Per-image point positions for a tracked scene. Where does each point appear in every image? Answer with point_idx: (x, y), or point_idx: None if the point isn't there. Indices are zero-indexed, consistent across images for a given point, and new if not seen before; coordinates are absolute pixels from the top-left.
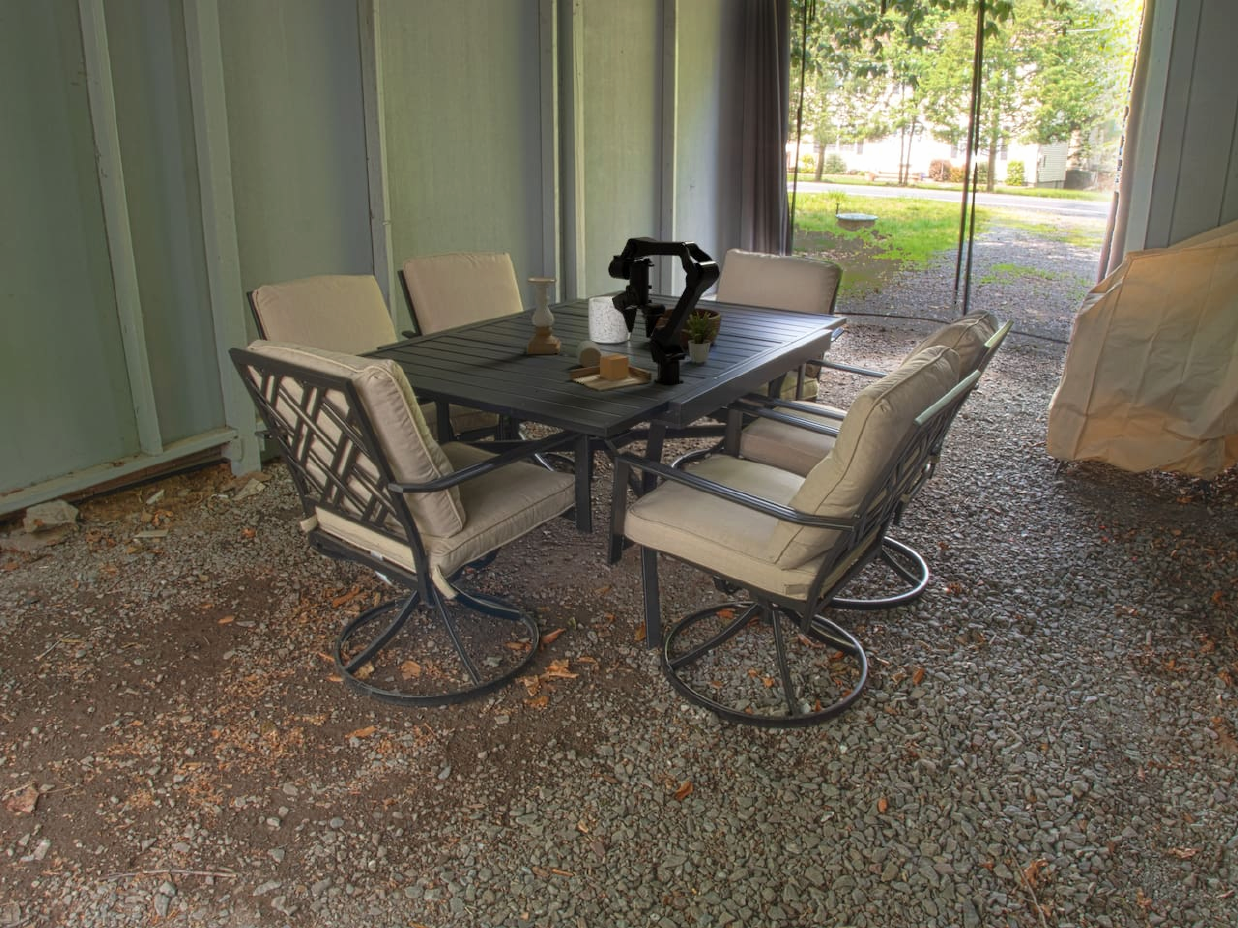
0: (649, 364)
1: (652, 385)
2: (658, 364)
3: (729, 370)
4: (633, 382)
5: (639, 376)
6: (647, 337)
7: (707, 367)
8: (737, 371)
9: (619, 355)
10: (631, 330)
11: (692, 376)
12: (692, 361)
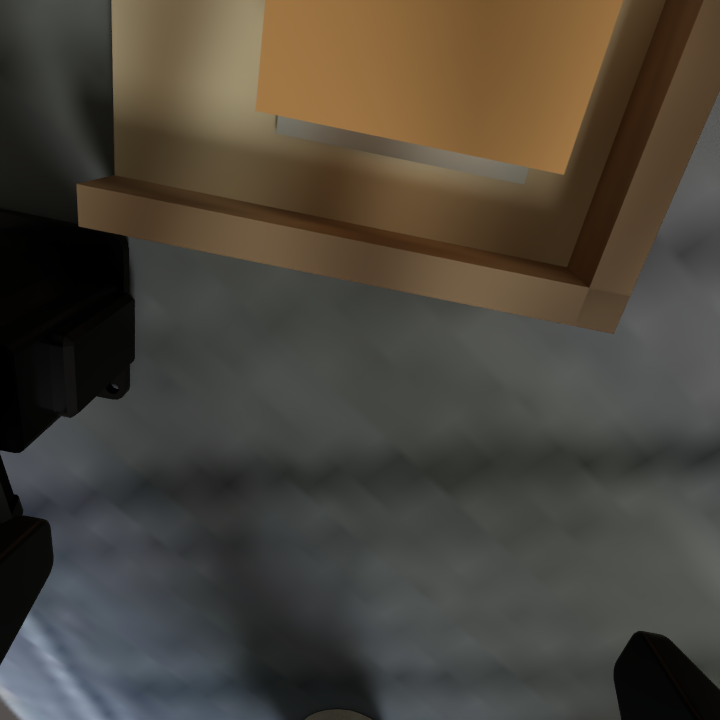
0: (524, 562)
1: (19, 122)
2: (33, 323)
3: (81, 687)
4: (132, 2)
5: (247, 203)
6: (12, 518)
7: (205, 676)
8: (41, 692)
9: (437, 94)
10: (633, 699)
11: (85, 505)
12: (350, 714)
